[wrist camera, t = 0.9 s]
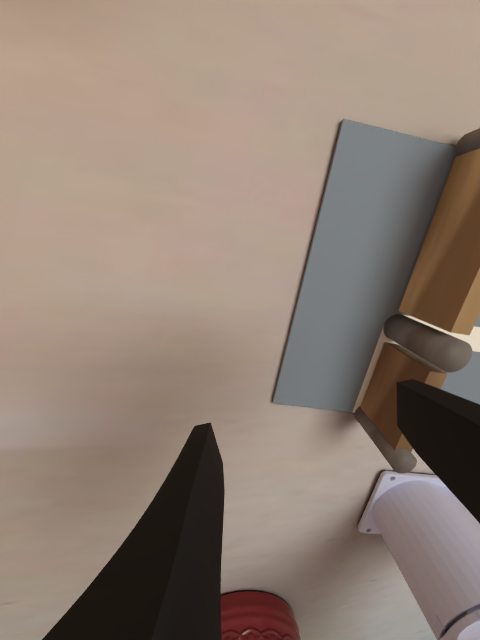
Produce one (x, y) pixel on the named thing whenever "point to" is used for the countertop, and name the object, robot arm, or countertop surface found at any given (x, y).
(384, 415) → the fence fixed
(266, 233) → the countertop surface
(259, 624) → the canister
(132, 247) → the countertop surface
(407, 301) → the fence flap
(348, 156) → the mat
